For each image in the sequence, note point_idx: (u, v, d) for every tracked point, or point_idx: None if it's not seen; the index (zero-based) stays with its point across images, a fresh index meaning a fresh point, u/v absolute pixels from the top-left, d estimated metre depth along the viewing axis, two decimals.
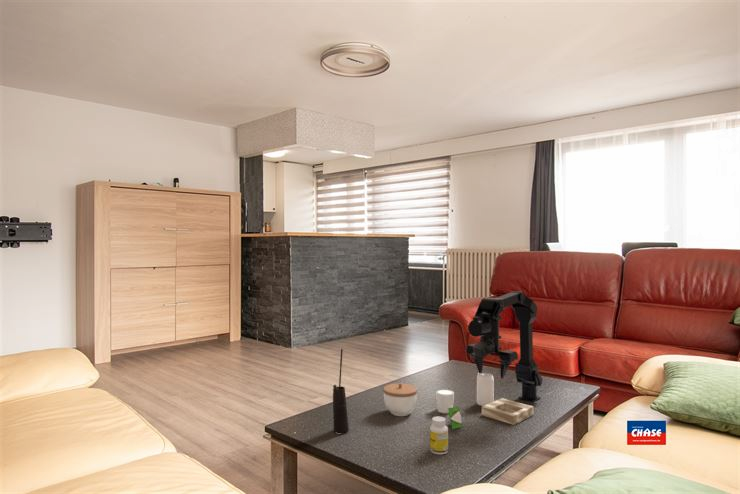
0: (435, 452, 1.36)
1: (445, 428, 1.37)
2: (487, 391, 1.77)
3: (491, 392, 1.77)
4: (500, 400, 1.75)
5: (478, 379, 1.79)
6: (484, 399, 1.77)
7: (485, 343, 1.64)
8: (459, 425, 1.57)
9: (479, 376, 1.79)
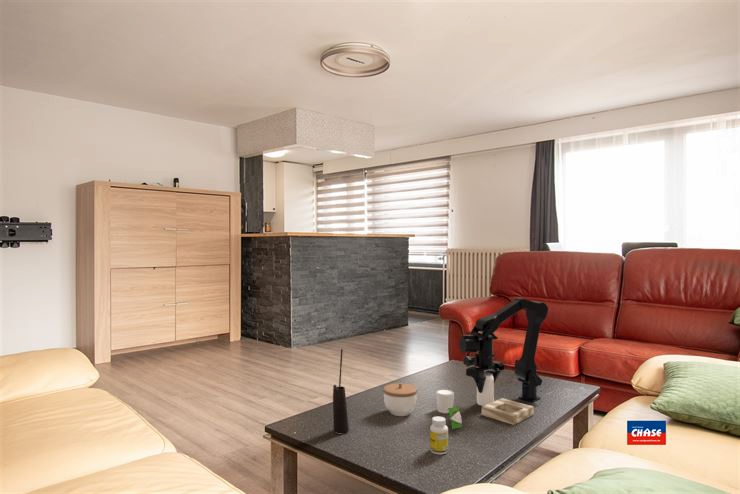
0: (435, 452, 1.36)
1: (445, 428, 1.37)
2: (487, 391, 1.77)
3: (491, 392, 1.77)
4: (500, 400, 1.75)
5: None
6: (484, 399, 1.77)
7: (473, 357, 1.83)
8: (459, 425, 1.57)
9: None
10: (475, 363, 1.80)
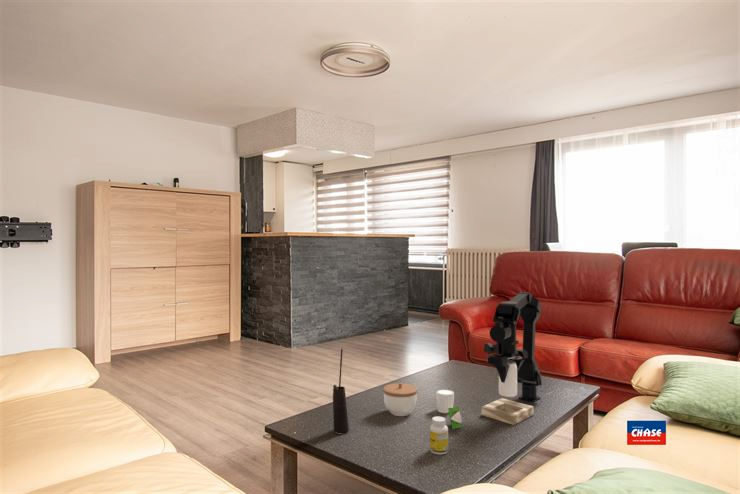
0: (435, 452, 1.36)
1: (445, 428, 1.37)
2: (510, 380, 1.64)
3: (514, 381, 1.65)
4: (500, 400, 1.75)
5: None
6: (506, 389, 1.64)
7: (495, 344, 1.70)
8: (459, 425, 1.57)
9: None
10: (497, 350, 1.67)
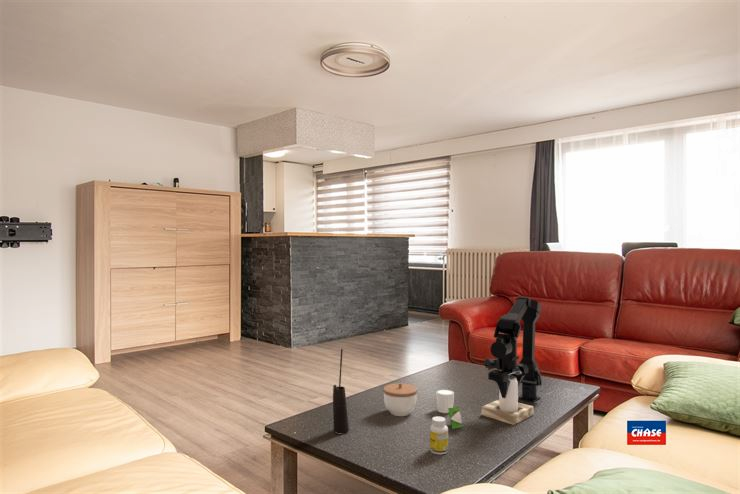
0: (435, 452, 1.36)
1: (445, 428, 1.37)
2: (511, 396, 1.64)
3: (515, 397, 1.64)
4: None
5: None
6: (507, 405, 1.64)
7: (496, 359, 1.70)
8: (459, 425, 1.57)
9: None
10: (498, 366, 1.67)
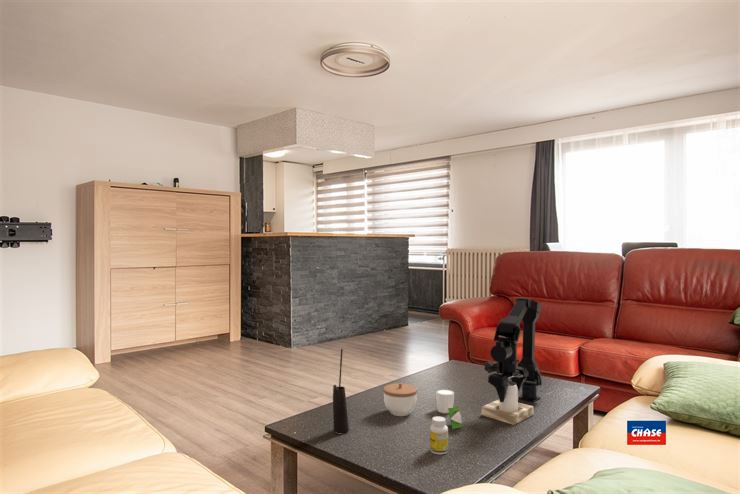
0: (435, 452, 1.36)
1: (445, 428, 1.37)
2: (511, 402, 1.64)
3: (515, 403, 1.64)
4: None
5: None
6: (507, 411, 1.64)
7: (495, 362, 1.70)
8: (459, 425, 1.57)
9: None
10: (498, 369, 1.67)
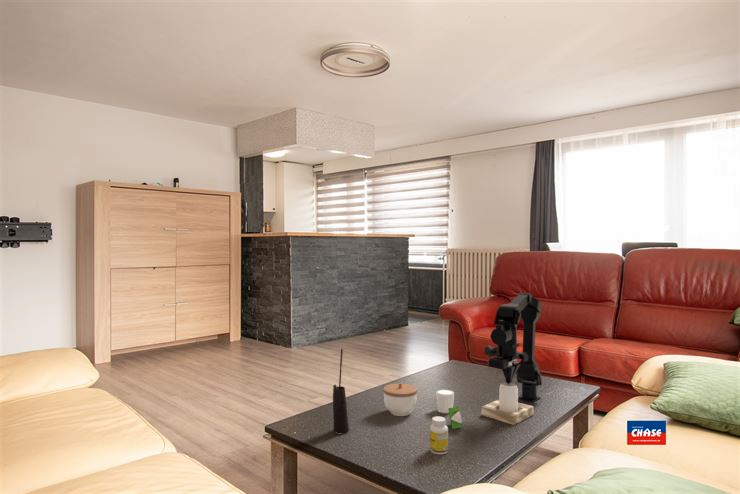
0: (435, 452, 1.36)
1: (445, 428, 1.37)
2: (511, 402, 1.64)
3: (515, 403, 1.64)
4: None
5: (501, 389, 1.66)
6: (507, 411, 1.64)
7: None
8: (459, 425, 1.57)
9: (502, 386, 1.66)
10: (498, 353, 1.67)
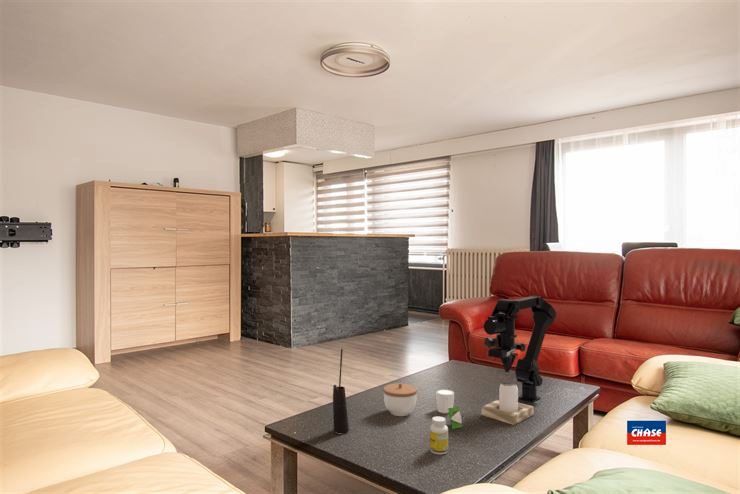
0: (435, 452, 1.36)
1: (445, 428, 1.37)
2: (511, 402, 1.64)
3: (515, 403, 1.64)
4: None
5: (501, 389, 1.66)
6: (507, 411, 1.64)
7: (495, 338, 1.81)
8: (459, 425, 1.57)
9: (502, 386, 1.66)
10: (497, 344, 1.78)
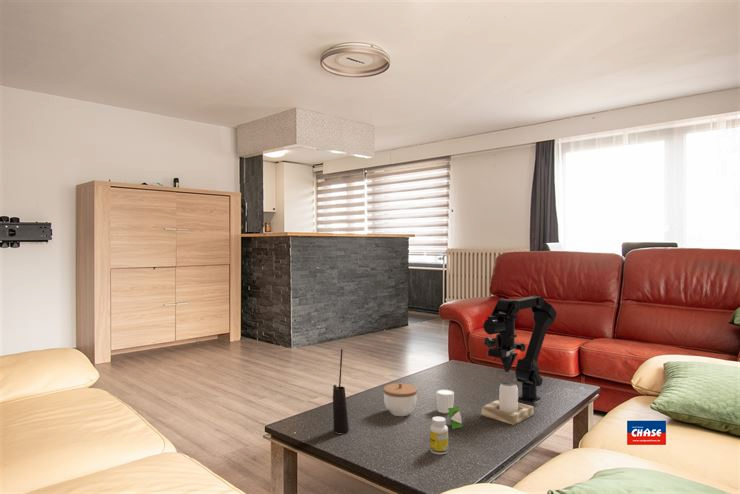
0: (435, 452, 1.36)
1: (445, 428, 1.37)
2: (511, 402, 1.64)
3: (515, 403, 1.64)
4: None
5: (501, 389, 1.66)
6: (507, 411, 1.64)
7: (495, 338, 1.82)
8: (459, 425, 1.57)
9: (502, 386, 1.66)
10: (497, 344, 1.79)
